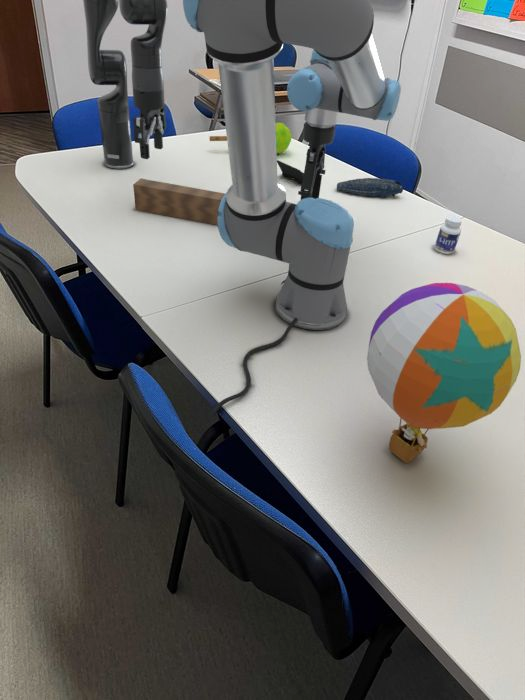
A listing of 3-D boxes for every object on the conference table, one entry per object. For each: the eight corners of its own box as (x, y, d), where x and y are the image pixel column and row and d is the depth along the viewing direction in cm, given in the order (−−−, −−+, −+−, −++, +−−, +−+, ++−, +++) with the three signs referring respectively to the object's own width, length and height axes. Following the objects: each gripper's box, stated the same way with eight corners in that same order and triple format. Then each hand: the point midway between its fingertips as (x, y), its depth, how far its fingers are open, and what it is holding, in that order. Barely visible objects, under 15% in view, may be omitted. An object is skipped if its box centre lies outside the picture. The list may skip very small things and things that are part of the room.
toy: (317, 443, 83) (351, 282, 64) (393, 393, 94) (441, 242, 75) (417, 530, 72) (494, 366, 53) (490, 462, 83) (575, 305, 64)
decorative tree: (206, 116, 188) (287, 116, 194) (207, 146, 195) (285, 145, 200) (212, 130, 175) (298, 130, 180) (212, 162, 181) (296, 160, 186)
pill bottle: (433, 251, 139) (442, 220, 133) (435, 243, 143) (444, 213, 137) (453, 256, 138) (464, 225, 132) (454, 247, 142) (465, 217, 136)
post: (324, 237, 141) (328, 211, 137) (321, 244, 138) (325, 218, 133) (142, 203, 149) (140, 178, 145) (135, 209, 146) (133, 184, 141)
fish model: (402, 201, 164) (405, 185, 161) (336, 194, 165) (338, 178, 162) (400, 193, 170) (403, 178, 167) (335, 186, 171) (338, 171, 168)
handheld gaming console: (320, 175, 173) (310, 154, 164) (311, 192, 172) (300, 172, 163) (292, 170, 179) (281, 150, 171) (283, 187, 178) (271, 167, 169)
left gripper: (146, 78, 133) (150, 143, 143) (120, 90, 122) (126, 159, 132) (173, 82, 132) (175, 147, 142) (150, 94, 121) (154, 164, 131)
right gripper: (313, 107, 132) (304, 188, 145) (293, 136, 113) (284, 226, 127) (343, 111, 131) (330, 192, 144) (327, 141, 112) (314, 231, 125)
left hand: (152, 153), depth 137 cm, fingers open, 8 cm apart
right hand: (308, 208), depth 135 cm, fingers open, 13 cm apart
